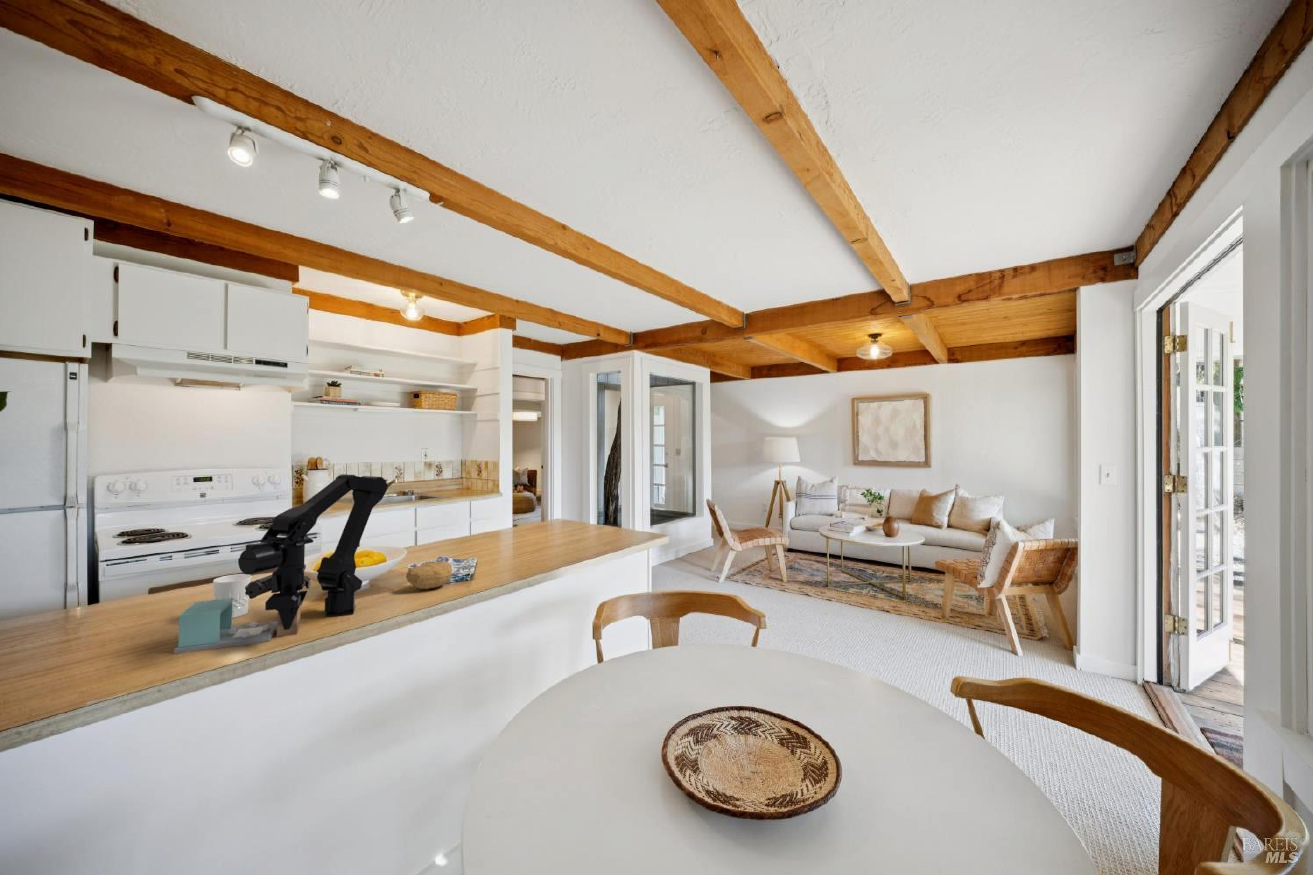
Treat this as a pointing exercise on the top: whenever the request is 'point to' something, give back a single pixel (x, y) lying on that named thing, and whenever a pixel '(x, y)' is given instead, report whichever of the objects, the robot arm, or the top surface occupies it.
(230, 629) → the base plate
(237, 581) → the white cup
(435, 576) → the potato
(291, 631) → the block
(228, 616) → the housing cover
